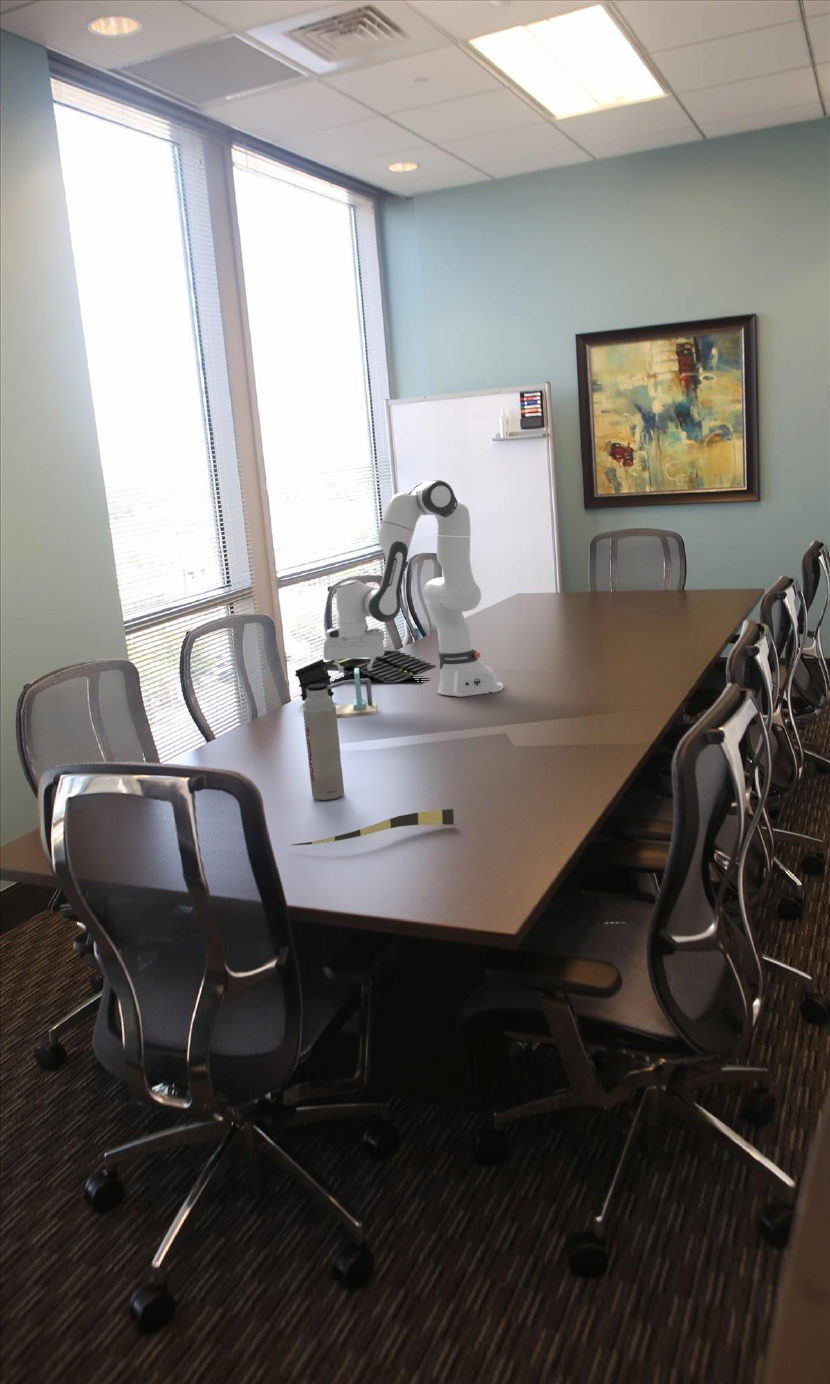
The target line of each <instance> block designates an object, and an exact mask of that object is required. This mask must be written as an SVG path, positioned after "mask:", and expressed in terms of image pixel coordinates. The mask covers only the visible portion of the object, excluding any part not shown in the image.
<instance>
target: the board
mask: <svg viewBox="0 0 830 1384" xmlns="http://www.w3.org/2000/svg"><path fill="white" fill-rule="evenodd" d="M372 703H373V705H370V706H369V705H368V702H366V709H357V710H354V708H353V703H352V704H341V705H335V706H336V715H337V719H340V718H348V717H358V716H367V715H377V714H378V713H377V711H378V710H377V702H376V701H375V702H374V701H372Z"/></svg>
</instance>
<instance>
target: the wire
mask: <svg viewBox="0 0 830 1384" xmlns="http://www.w3.org/2000/svg"><path fill="white" fill-rule="evenodd" d="M359 682H360V684H361V683H365V687H366V689H365V690H366V700H367V701H366V702H367V703H368V705H369V706H370V705H373V703H372V702H373V695H372V682H371V679H370V678H368V677H367V678H360V679H359ZM349 684H350V685H351V684H355V679H348V680H346V679H345V680H342V681H339V682H335V683H332V684H331V685H328V686H327V689H335V688H338V687H341V686H344V685H349ZM306 694H307V698H308V689H306Z"/></svg>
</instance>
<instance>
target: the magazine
mask: <svg viewBox="0 0 830 1384" xmlns="http://www.w3.org/2000/svg"><path fill="white" fill-rule="evenodd" d="M326 662H327V661H324V658H323V659H320V660H317V661H315V662H313V663H311V664H307V665H306V666H303V667H300V668H299V669H297V670H295V672H294V673H295V674H294V676H295V677H297V679H298V681H299V685H298V687H299V688H300V690H301V694H300V697H301V701H303V702H305V699H307V694H306V689H307V687H308V686H309V685H313V684H327V686H328V685H332V684H331V679H332V676H331V675H329V674H330V673H329V671H328V670H327V668H326V666H325V664H326ZM332 689H333V688H332ZM332 689H327V691H328V695H329V696H331V697H332V698H333V696H335V695H334V691H333V690H332Z"/></svg>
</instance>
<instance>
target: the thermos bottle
mask: <svg viewBox="0 0 830 1384" xmlns="http://www.w3.org/2000/svg"><path fill="white" fill-rule="evenodd" d="M307 689H308V698H307V699H305V701H304V705H305V707H303V709H302V712H303V722H304V731H305V740H306V741H305V742H306V750H307V755H308V756H307V758H308V768H309V769H308V770H309V779H310V787H311V796H312V798H313V799H316V800H323V801H324V800H334V799H337V798H340V797H342V796H343V795H345V786H344V777H343V776H344V775H343V767H342V761H341V760H342V759H341V747H340V737H339V727H338V718H337V715H336V706H337V705H335V704H333V703H334V701H333V696H332V697H331V696H329V695H328V691H327V684H313V685H309V686H308V687H307Z"/></svg>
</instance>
